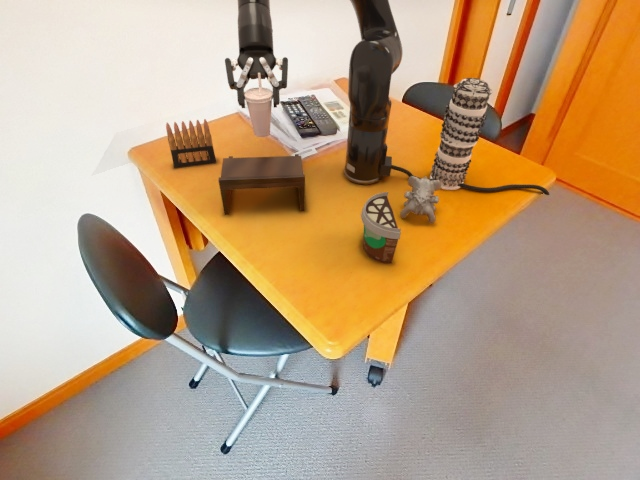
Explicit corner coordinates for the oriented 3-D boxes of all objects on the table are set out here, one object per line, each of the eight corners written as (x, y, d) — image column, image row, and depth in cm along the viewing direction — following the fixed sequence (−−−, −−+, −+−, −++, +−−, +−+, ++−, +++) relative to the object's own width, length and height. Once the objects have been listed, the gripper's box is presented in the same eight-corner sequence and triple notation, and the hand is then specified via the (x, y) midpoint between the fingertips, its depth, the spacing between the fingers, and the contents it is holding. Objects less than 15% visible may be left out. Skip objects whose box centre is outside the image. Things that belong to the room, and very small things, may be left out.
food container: (353, 228, 86) (357, 191, 80) (380, 227, 87) (387, 190, 80) (362, 270, 77) (367, 231, 71) (393, 268, 78) (401, 230, 71)
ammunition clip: (215, 159, 106) (208, 117, 98) (216, 163, 104) (209, 120, 96) (174, 164, 103) (163, 121, 95) (174, 168, 102) (162, 124, 94)
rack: (298, 162, 106) (298, 129, 99) (304, 211, 90) (304, 176, 84) (230, 164, 104) (225, 131, 98) (224, 215, 89) (218, 180, 82)
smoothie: (271, 141, 91) (266, 80, 81) (244, 138, 92) (236, 77, 82) (278, 128, 95) (275, 68, 86) (253, 125, 96) (247, 66, 87)
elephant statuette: (401, 225, 88) (407, 197, 82) (392, 193, 96) (397, 166, 91) (442, 225, 88) (451, 198, 83) (430, 193, 97) (437, 166, 92)
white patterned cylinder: (421, 180, 101) (444, 81, 84) (439, 166, 106) (465, 70, 89) (453, 195, 97) (484, 94, 80) (471, 180, 102) (504, 82, 85)
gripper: (219, 22, 83) (223, 100, 83) (287, 22, 85) (292, 99, 84) (224, 41, 91) (228, 113, 90) (287, 41, 92) (291, 111, 92)
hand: (259, 106), depth 87 cm, fingers closed on smoothie, 6 cm apart
